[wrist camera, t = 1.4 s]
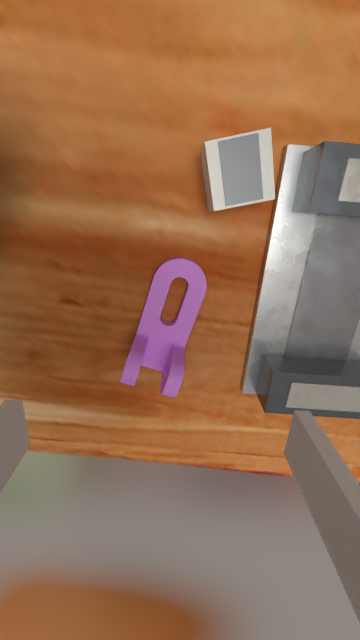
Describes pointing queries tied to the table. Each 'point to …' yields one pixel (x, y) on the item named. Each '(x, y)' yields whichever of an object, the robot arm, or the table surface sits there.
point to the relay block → (238, 170)
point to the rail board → (310, 288)
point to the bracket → (166, 326)
